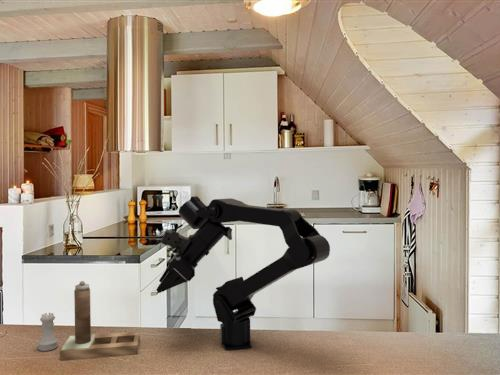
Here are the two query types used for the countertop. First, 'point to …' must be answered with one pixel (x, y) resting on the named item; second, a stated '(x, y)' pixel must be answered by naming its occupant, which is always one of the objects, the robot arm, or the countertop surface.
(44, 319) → the rook chess piece
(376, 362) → the countertop surface
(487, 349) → the countertop surface
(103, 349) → the board
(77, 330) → the pepper mill
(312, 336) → the countertop surface
